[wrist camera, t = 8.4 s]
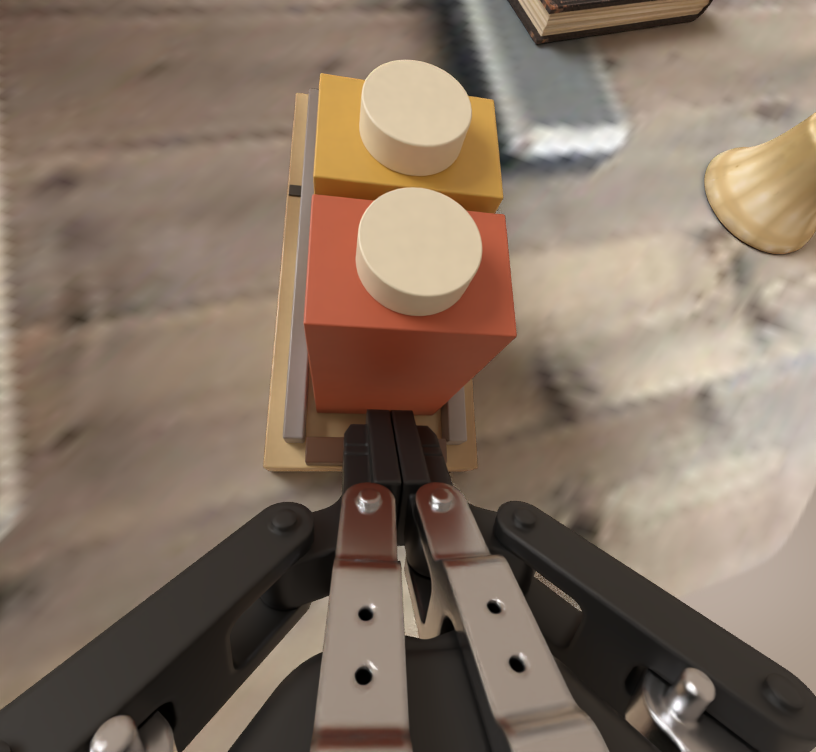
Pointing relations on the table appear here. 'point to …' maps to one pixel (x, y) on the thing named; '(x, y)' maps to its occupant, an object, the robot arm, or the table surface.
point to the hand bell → (768, 190)
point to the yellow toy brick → (406, 137)
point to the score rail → (291, 377)
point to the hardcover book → (600, 16)
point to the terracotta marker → (403, 300)
